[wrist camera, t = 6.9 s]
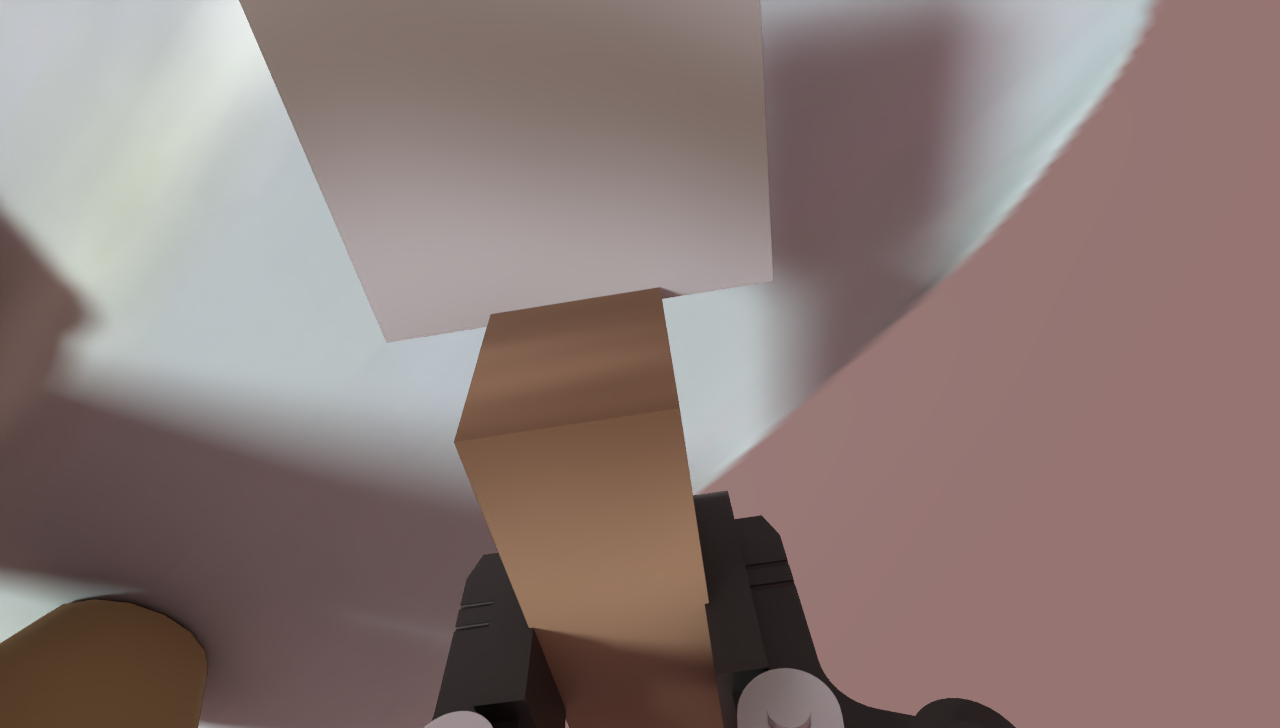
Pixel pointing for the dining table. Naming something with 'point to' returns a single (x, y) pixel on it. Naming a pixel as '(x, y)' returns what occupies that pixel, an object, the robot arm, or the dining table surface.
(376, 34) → the wooden bar with blade
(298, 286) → the dining table surface
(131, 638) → the squeeze bottle
